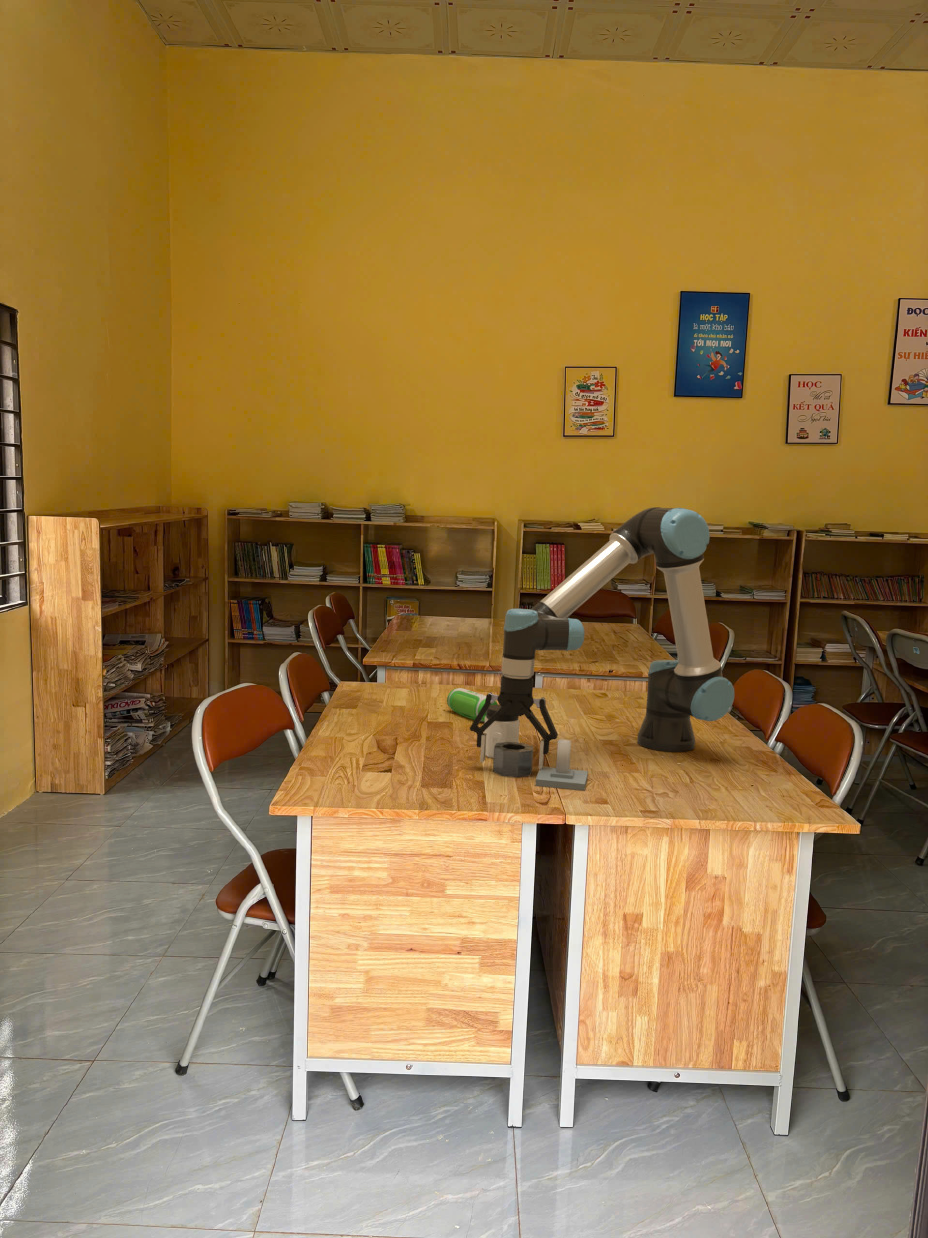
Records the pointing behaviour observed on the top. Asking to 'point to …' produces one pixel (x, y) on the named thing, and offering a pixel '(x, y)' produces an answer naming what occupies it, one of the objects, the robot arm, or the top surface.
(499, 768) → the tube
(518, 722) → the jar
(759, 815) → the top surface
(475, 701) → the speaker
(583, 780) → the shaft stand
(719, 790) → the top surface
